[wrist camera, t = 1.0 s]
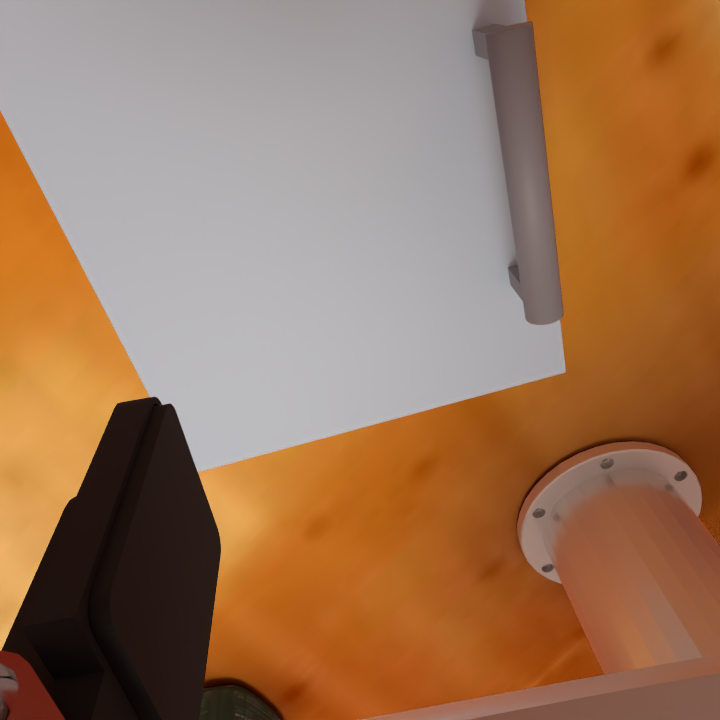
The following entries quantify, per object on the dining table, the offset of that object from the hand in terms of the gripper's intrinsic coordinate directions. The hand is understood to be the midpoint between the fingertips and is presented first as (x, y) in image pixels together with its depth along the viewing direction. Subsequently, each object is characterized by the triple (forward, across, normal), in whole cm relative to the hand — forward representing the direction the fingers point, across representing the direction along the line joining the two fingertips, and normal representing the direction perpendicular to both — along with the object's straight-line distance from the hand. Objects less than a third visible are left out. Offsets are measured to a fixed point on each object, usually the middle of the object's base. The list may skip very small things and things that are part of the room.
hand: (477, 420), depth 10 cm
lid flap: (+17, +2, +1) cm, 17 cm away
